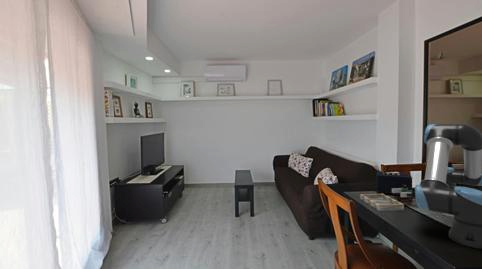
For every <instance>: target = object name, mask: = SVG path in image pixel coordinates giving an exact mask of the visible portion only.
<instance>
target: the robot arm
mask: <svg viewBox="0 0 482 269" xmlns="http://www.w3.org/2000/svg"><path fill="white" fill-rule="evenodd" d="M424 130H425V131H424V135H423V141H424V144H425V145H426V146H427V148H428V149H429V150H428V155H427V162H426V166H425V167H426V168H425V173H424V179H422V180H421V181H420V183H419V184H416V185H415V186H412V188H411V190H412V192H402V188H403V187H400V188H398V189H392V193H401V195H400V197H402V198H404V197H413V198H415V203H416V207H418V208H419V209H421V210H425V211H428V212H429V211H430V212H435V213H439V214H446V215H452V216H453V222H452V224H451V226H450V229H449V230H448V238H449V239H450V240H452V241H453V242H455V243H457V244H460V245H462V246H465V247H470V248H475V249H480V250H481V249H482V190H479V189H476V188H471V187H467V186H460V185H459V186H456V185H454V184H463V185H468V186H479V187H482V133H481V131H479V130H478V129H477V128H475V127H474V126H472V125H470V124H465V123H434V124H431V123H430V124H428V125H427V126H426V128H425V129H424ZM454 146H461V148H462V149H463V171H457V170H455V169H454V168H453V167H452V166H451V167H449V157H450V151H451V150H452V149H453V148H454ZM406 188H407V187H406Z"/></svg>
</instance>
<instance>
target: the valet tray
mask: <svg viewBox="0 0 482 269" xmlns="http://www.w3.org/2000/svg"><path fill="white" fill-rule="evenodd" d="M359 199H360V201H362V202H364V203H365V204H367V205H369V206H370V207H372V208H373V209H375V210H376V211H378V212H387V211H388V212H391V211H404V210H405V203H401V201H397V199H394V198H392V197H390V196H388V195H386V194H385V193H382V194H380V193H362V194H360V198H359Z"/></svg>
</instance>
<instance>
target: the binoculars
mask: <svg viewBox="0 0 482 269" xmlns="http://www.w3.org/2000/svg"><path fill="white" fill-rule="evenodd" d="M406 187H407V185H405V184H403V188H402V192H412V190H411V187H407V188H406ZM393 196H394V198H396V201H398V202H400V203H402V204H405V203H409V204H413V203H414V197H401V194H393Z"/></svg>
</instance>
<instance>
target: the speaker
mask: <svg viewBox="0 0 482 269" xmlns="http://www.w3.org/2000/svg"><path fill="white" fill-rule="evenodd" d="M375 178H376V184H375V185H376V193H378V194H391V195H392V194H393V195H394V194H401V193H392V189H398V188H400V187H403V184H405V185H407V187H411V188H413V177H412V175H411V174H410V173H404V172H403V173H401V172H385V171H384V172H383V171H376V177H375Z"/></svg>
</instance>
